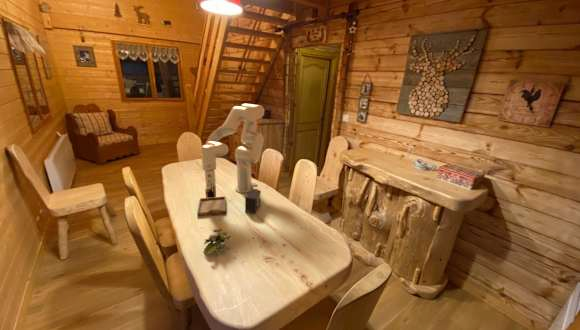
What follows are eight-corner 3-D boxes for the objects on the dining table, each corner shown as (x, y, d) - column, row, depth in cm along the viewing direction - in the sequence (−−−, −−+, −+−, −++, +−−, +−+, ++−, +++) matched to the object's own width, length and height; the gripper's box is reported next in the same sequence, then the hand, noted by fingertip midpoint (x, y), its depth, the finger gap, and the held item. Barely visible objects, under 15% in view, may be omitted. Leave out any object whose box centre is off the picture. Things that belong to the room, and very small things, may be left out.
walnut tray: (225, 199, 154) (225, 196, 154) (225, 214, 139) (225, 210, 138) (200, 201, 150) (199, 198, 150) (197, 216, 135) (197, 213, 134)
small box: (255, 214, 140) (255, 198, 136) (244, 212, 141) (244, 197, 137) (261, 205, 150) (261, 190, 146) (251, 204, 151) (251, 189, 147)
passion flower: (219, 253, 116) (230, 230, 117) (225, 264, 106) (237, 239, 108) (197, 246, 110) (210, 223, 111) (201, 258, 101) (215, 232, 102)
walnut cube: (216, 193, 144) (215, 184, 143) (215, 197, 140) (215, 188, 138) (206, 193, 143) (205, 185, 141) (205, 197, 138) (205, 189, 136)
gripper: (215, 171, 128) (217, 201, 134) (216, 161, 144) (218, 188, 150) (201, 172, 126) (203, 202, 132) (203, 161, 142) (205, 189, 148)
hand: (211, 194), depth 141 cm, fingers closed on walnut cube, 5 cm apart
